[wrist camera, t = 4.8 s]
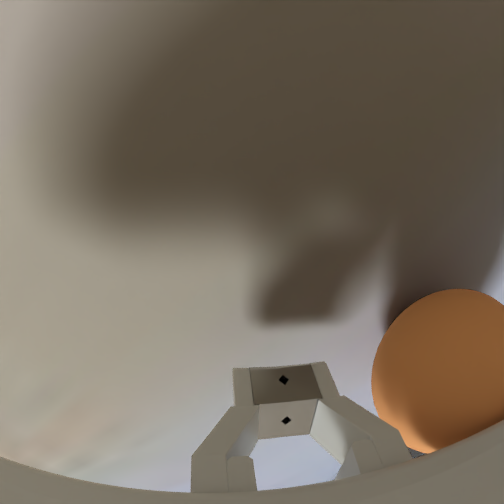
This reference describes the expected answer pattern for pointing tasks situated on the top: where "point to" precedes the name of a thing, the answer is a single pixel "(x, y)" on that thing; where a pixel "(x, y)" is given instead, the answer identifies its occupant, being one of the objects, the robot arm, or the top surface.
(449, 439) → the ball
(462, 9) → the top surface
